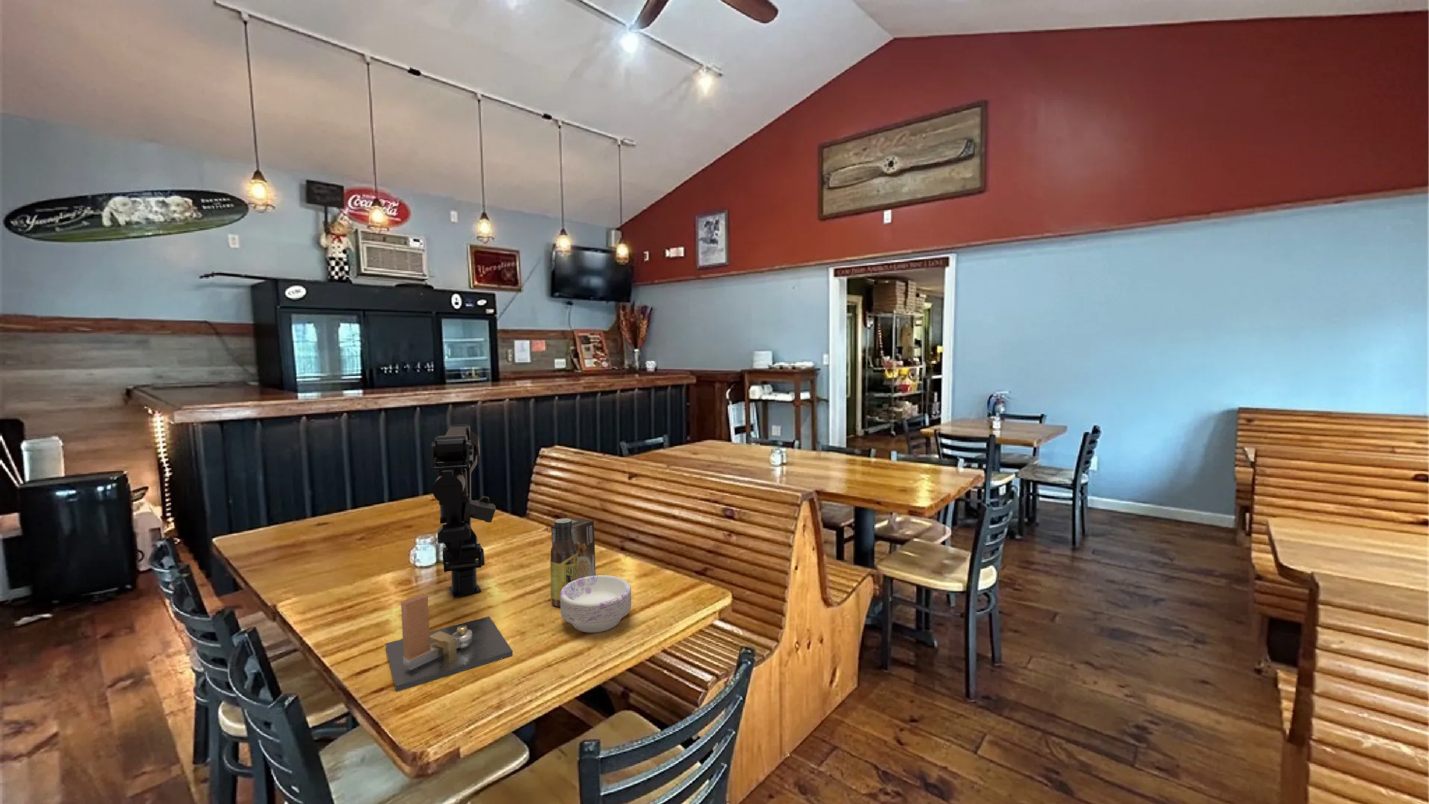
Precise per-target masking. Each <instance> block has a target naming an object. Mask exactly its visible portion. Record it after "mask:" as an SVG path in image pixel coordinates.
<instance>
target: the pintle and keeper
mask: <svg viewBox="0 0 1429 804" xmlns="http://www.w3.org/2000/svg"><path fill="white" fill-rule="evenodd" d="M466 632H467V626H465V625H462V626H459V627H457V634H459V635H462V634H465V633H466ZM430 643H431V644H434V645H436V646H439V647H441V648H442V647H443V654H444V661H446V662H449V663H450V662H452V661H454V660H455V659H457V653H456V639H455V638H453V636H452V635H449V634H446V633H444V632H441V631H439V632H437V633H435V634H433V635H430ZM469 645H470V644H469ZM469 645H467V646H463V647H459V648H457V649H463V648H466V647H468V646H469Z"/></svg>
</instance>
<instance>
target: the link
mask: <svg viewBox="0 0 1429 804" xmlns="http://www.w3.org/2000/svg"><path fill="white" fill-rule="evenodd" d="M400 608H401V611H400V612H401V629H402V639H403V648H404V657H403V662H404V667H406V668H408V669H409V670H412V669H414V668H416V667H418V666H421V665H423V664H425V663H427V662H429V661H431V660H433V659H436V658H438V657H440V656H442V655H444V654H443V647H442V648H441V647H439V646H436V645H434V644H431V645H430V632H431V630H430V615H429V612H430V611H429V596H428V595H425V594H423V593H422V594H419V595H415V596H414V597H410V598H408V599H405V600H403V601H402V600H401V602H400ZM452 636H453V638H455V639H456V649H457V648H459V647H463V646H467V645H469V644H470V643H471V642H472V631H471V630H468V629H467V632H466V633H465V634H462V635H459V634H457V632H455V633H454V634H453V635H452Z"/></svg>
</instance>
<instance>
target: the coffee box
mask: <svg viewBox="0 0 1429 804" xmlns="http://www.w3.org/2000/svg"><path fill="white" fill-rule="evenodd" d="M570 519H571V520H572V527H571V530H572V539H573V542H574V545H575V547H576V550H577V564H578V579H580V578H583V577H588V576H596V575H597V572H596V570H597V568H596V550H595V549H596V547H595V520H593V519H586V518H580V517H574V518H570ZM550 529H551V546H552V545H553V543H554V542H555V540H556V539H555V536H556V535H555V524H553V525H551V526H550Z"/></svg>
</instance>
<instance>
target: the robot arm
mask: <svg viewBox="0 0 1429 804" xmlns="http://www.w3.org/2000/svg"><path fill="white" fill-rule="evenodd" d="M480 447H481V445H480V438H479V435H478V434H476V433H475V432H473V431H472V430H471V426H470V424H465V423H464V424H450V425H448V426H447V431H446V433H445V435H439V436H436V437H435V438H434V441H432V442H431V447H430V448H431V449H430V450H431V451H430V465H429V467H430V472H437V471H438V473H437V475H438V476H437V479H436V480H435V482H433V486H432V495H433V497H434V498H435V500H437V502H438V506H439V513H440V518H439V524H440V527H439V528H438V530H437V535H436V536H437V543H438V544H442V543H443V544H444V546H445V547H442V564H443V571H444V573H447V572H450V574H451V575H450V576H451V586H448V588H447V589H448V591H449V593H450V595H451V597H452V598H454V599H456V598H460V597H463V596H468V595H472V594H477V593H481V592H482V589H481V587H480V586H479V584H478V581H477V580H478V578H477V576H478V575H477V569H481V568H482V567H483V566H484V565H486V564H485V561H486V560H485V551H484V548H483V547H482V545H481V543H479V539H478V537H477V534H476V533H475V531H474V530H473V528H472V519H474V520H480V521H484V522H485V523H492V521H493V518H494V516H495V512H496V510H497V507H496V505H495V504H494V503H490V498H489V496H485V495H482V496H481V497H480V498H479V499H475V500H473V499H472V472H473V471H474V469H475V468H476V466H477V465H478V457H480V455H481V452H480V451H481V450H480V449H481V448H480ZM441 524H442V525H441Z"/></svg>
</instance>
